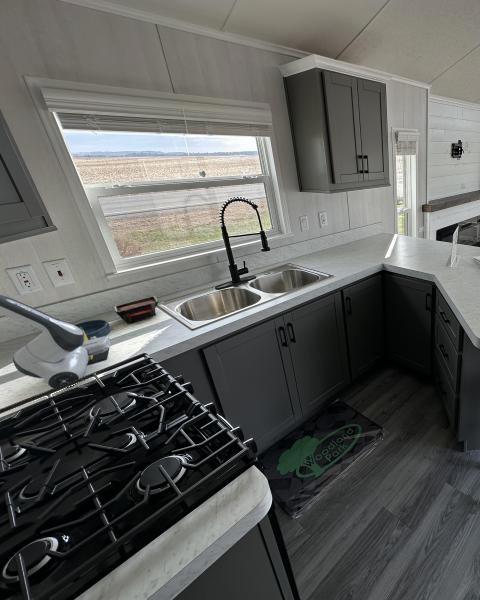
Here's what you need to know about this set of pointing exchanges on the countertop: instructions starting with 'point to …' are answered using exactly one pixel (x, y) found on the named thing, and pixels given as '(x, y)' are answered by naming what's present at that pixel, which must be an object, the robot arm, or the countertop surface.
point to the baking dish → (137, 309)
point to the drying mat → (99, 357)
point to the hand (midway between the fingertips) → (78, 342)
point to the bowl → (95, 328)
